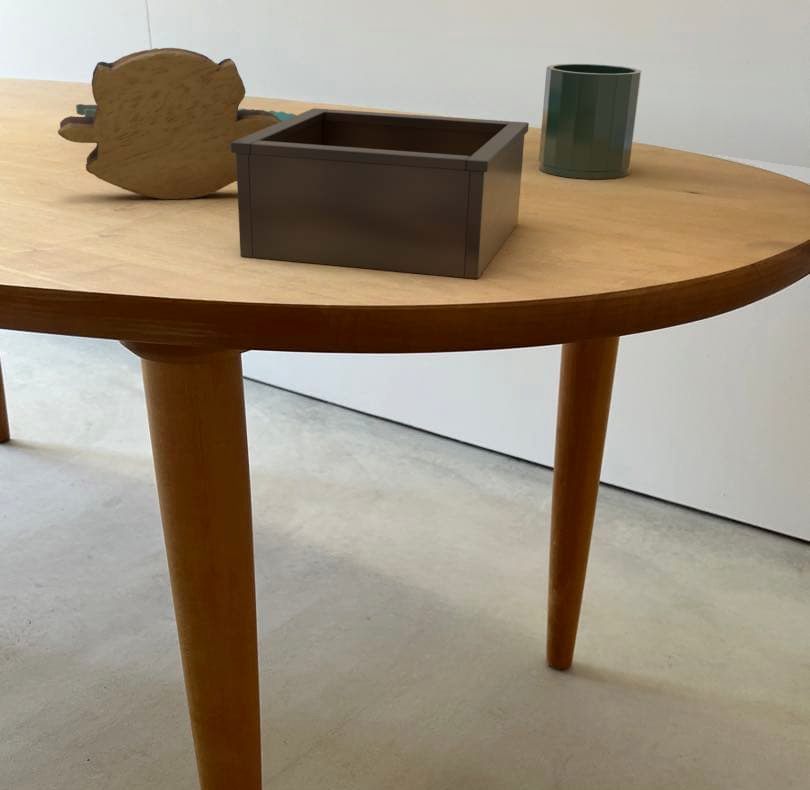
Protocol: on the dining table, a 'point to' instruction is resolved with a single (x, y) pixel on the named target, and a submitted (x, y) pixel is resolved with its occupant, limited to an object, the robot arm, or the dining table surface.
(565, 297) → the dining table surface
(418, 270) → the dark wooden storage bin
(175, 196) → the wooden carving
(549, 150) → the cup
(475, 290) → the dining table surface
